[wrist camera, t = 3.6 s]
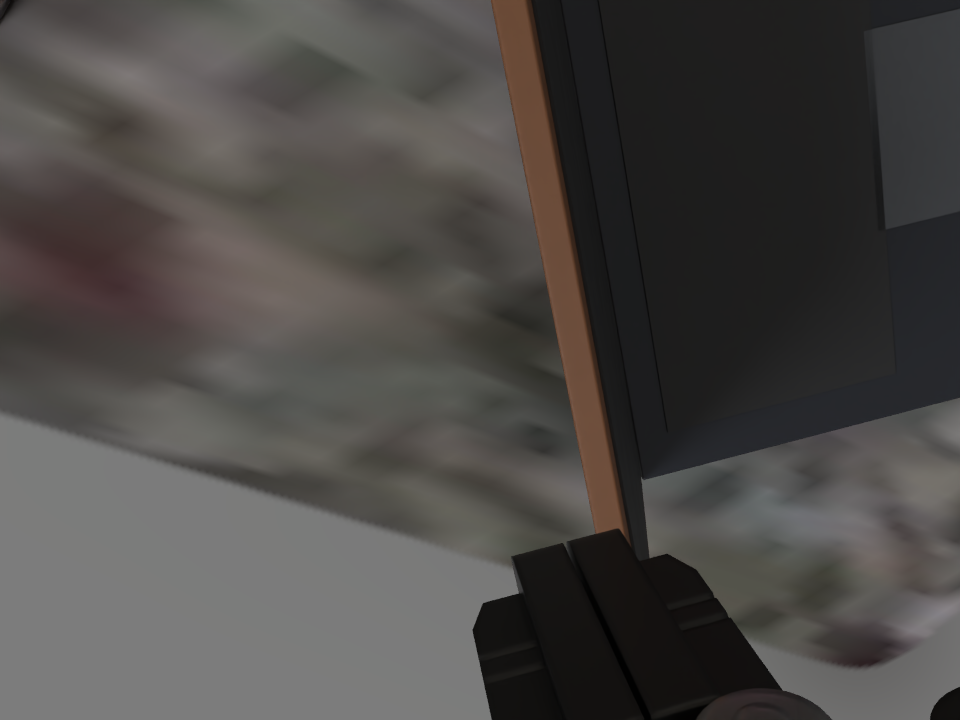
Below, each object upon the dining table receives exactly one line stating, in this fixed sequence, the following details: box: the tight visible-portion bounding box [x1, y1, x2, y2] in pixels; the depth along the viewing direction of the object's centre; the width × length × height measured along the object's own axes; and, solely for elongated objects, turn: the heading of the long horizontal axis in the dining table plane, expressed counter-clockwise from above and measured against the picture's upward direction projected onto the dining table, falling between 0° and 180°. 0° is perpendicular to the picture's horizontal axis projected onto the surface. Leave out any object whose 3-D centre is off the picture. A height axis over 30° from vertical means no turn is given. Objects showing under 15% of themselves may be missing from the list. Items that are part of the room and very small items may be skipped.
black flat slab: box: [559, 0, 960, 480], centre depth 43 cm, size 21×30×2 cm
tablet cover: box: [491, 0, 649, 561], centre depth 32 cm, size 21×30×1 cm
